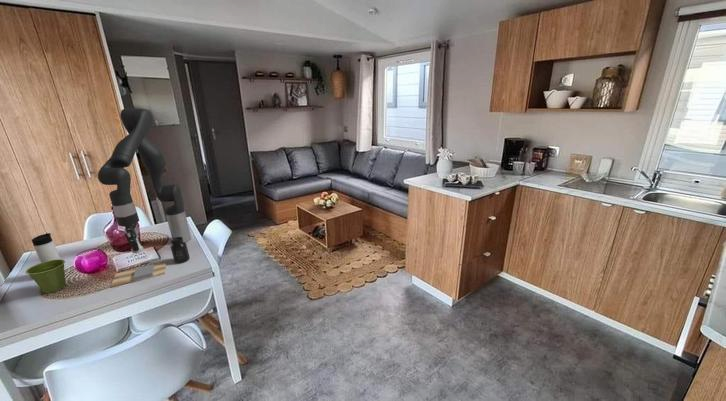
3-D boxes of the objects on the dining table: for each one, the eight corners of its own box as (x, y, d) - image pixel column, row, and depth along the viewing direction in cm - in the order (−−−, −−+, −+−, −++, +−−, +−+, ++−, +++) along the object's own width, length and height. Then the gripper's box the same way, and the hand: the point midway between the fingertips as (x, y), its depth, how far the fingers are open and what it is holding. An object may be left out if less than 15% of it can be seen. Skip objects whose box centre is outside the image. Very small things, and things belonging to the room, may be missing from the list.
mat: (115, 274, 139) (115, 273, 138) (166, 262, 148) (165, 261, 148) (110, 288, 129) (110, 286, 128) (164, 274, 138) (164, 272, 138)
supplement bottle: (193, 256, 153) (187, 235, 149) (184, 263, 146) (178, 242, 142) (180, 256, 153) (175, 235, 149) (171, 263, 147) (165, 241, 143)
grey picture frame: (135, 268, 139) (133, 277, 132) (153, 264, 143) (151, 272, 135) (136, 271, 140) (134, 280, 132) (154, 266, 143) (152, 275, 136)
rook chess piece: (136, 249, 136) (130, 233, 134) (146, 248, 136) (141, 232, 134) (129, 254, 132) (124, 237, 129) (140, 253, 132) (134, 237, 130)
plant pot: (40, 300, 122) (29, 276, 118) (32, 291, 128) (21, 269, 124) (77, 285, 131) (68, 263, 128) (68, 278, 137) (59, 256, 134)
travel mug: (69, 271, 143) (54, 233, 136) (52, 278, 137) (35, 239, 131) (61, 269, 145) (45, 232, 138) (44, 276, 139) (27, 238, 133)
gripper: (118, 210, 132) (129, 244, 138) (111, 220, 121) (124, 257, 126) (138, 206, 136) (148, 240, 141) (134, 216, 124) (145, 252, 130)
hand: (137, 248), depth 134 cm, fingers closed on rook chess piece, 4 cm apart
